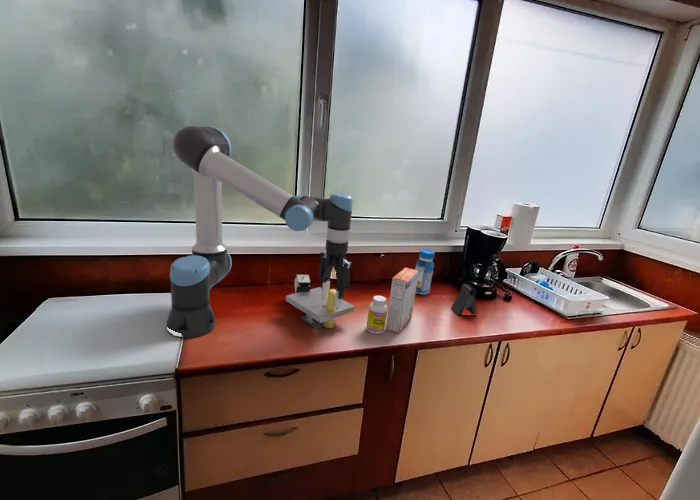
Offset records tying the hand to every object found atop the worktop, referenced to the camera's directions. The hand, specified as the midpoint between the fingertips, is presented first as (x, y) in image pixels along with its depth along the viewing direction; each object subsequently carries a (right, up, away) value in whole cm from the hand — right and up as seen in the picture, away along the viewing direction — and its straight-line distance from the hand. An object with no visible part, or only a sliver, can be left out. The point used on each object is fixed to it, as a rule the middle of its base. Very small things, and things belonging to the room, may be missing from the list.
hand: (331, 302), depth 134 cm
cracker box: (+25, -10, +11) cm, 29 cm away
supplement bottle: (+16, -11, +5) cm, 20 cm away
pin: (-1, -9, +3) cm, 9 cm away
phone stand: (+55, -8, +27) cm, 62 cm away
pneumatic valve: (-13, -3, +19) cm, 24 cm away
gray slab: (-5, -8, +7) cm, 12 cm away
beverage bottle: (+40, -1, +45) cm, 60 cm away
